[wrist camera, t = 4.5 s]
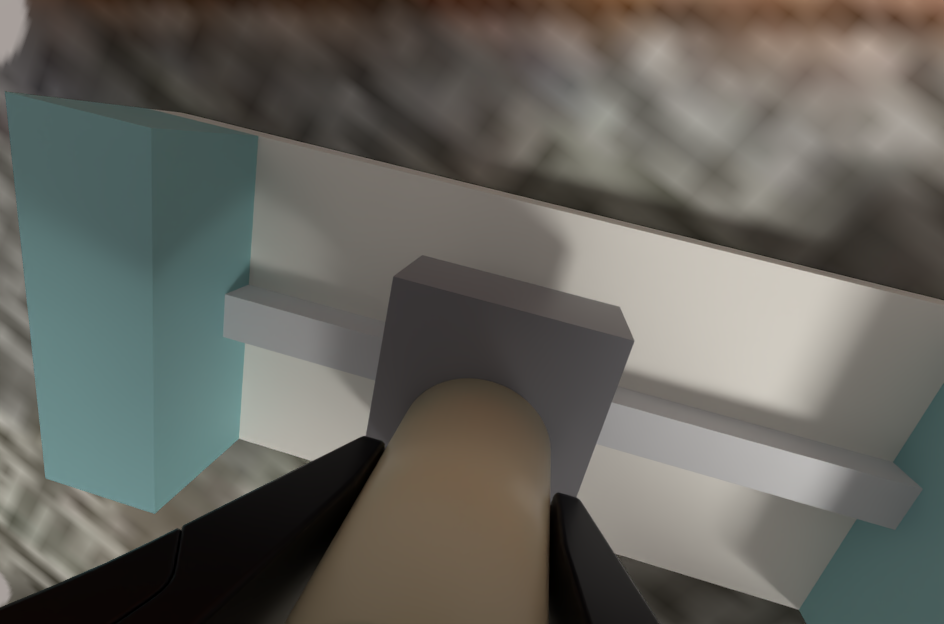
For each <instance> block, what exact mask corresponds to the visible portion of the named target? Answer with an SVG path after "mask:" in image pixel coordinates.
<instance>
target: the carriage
mask: <svg viewBox="0 0 944 624" xmlns="http://www.w3.org/2000/svg"><path fill="white" fill-rule="evenodd" d="M633 344H634V338H633V336H632V334H631V331H630V329H629V327H628V325H627V322H626V320H625V318H624V315H623V313H622V311H621V309H620V307H619V306H615V305H611V304H607V303H604V302H600V301H596V300H592V299H588V298H584V297H581V296H577V295H573V294H569V293H565V292H562V291H558V290H554V289H550V288H546V287H542V286H539V285H535V284H531V283H527V282H523V281H520V280H516V279H512V278H508V277H504V276H500V275H497V274H493V273H489V272H485V271H481V270H478V269H474V268H470V267H466V266H462V265H458V264H455V263H451V262H447V261H443V260H439V259H435V258H432V257H428V256H424V255H422V256H420V257H419V258H417V259H416V260H415V261H413V262H412V263H411V264H409V265H408V266H407V267H405V268H404V269H403V270H401V271H400V272H399V273H397V274H396V275H394V276H393V281H392V286H391V292H390V298H389V304H388V310H387V315H386V321H385V327H384V333H383V339H382V344H381V350H380V356H379V362H378V368H377V373H376V379H375V385H374V391H373V397H372V402H371V408H370V414H369V420H368V426H367V431H366V436H368V437H371V438H375V439H378V440H381V441H383V442H384V443H385V451H384V452H383V454H382V456H381V457H380V459H379V461H378V463H377V464H376V466H375V468H374V469H373V471H372V473H371V475H370V476H369V478H368V480H367V482H366V483H365V485H364V487H363V488H362V490H361V492H360V494H359V495H358V497H357V499H356V500H355V502H354V504H353V506H352V507H351V509H350V511H349V513H348V514H347V516H346V518H345V519H344V521H343V523H342V525H341V526H340V528H339V530H338V532H337V533H336V535H335V537H334V538H333V540H332V542H331V544H330V545H329V547H328V549H327V550H326V552H325V554H324V556H323V557H322V559H321V561H320V563H319V564H318V566H317V568H316V569H315V571H314V573H313V575H312V576H311V578H310V580H309V581H308V583H307V585H306V587H305V588H304V590H303V592H302V594H301V595H300V597H299V599H298V600H297V602H296V604H295V606H294V607H293V609H292V611H291V613H290V614H289V616H288V618H287V619H286V621H285V623H284V624H549V555H550V504H551V501H552V498H553V496H554V495H555V494H556V493H558V492H560V493H563V494H567V495H570V496H574V497H577V494H578V492H579V489H580V486H581V484H582V481H583V478H584V475H585V473H586V470H587V467H588V465H589V462H590V459H591V457H592V454H593V451H594V449H595V446H596V443H597V441H598V438H599V435H600V432H601V430H602V427H603V424H604V422H605V419H606V416H607V414H608V411H609V408H610V406H611V403H612V400H613V398H614V395H615V392H616V389H617V387H618V384H619V381H620V379H621V376H622V373H623V371H624V368H625V365H626V363H627V360H628V357H629V355H630V352H631V349H632V347H633Z"/></svg>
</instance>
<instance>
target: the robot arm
mask: <svg viewBox="0 0 944 624" xmlns="http://www.w3.org/2000/svg"><path fill="white" fill-rule="evenodd" d="M384 451H385V443H384V442H383V441H381V440H378V439H375V438H371V437H368V436H361V437H359V438H357V439H355V440H353V441H351V442H349V443H347V444H345V445H343V446H341V447H339V448H337V449H335V450H333V451H331V452H329V453H327V454H325V455H323V456H321V457H319V458H317V459H315V460H313V461H311V462H309V463H307V464H305V465H303V466H301V467H299V468H297V469H295V470H293V471H291V472H289V473H287V474H285V475H283V476H281V477H279V478H277V479H275V480H273V481H271V482H269V483H267V484H265V485H263V486H261V487H259V488H257V489H255V490H253V491H251V492H249V493H247V494H245V495H243V496H241V497H239V498H237V499H235V500H233V501H231V502H229V503H227V504H225V505H223V506H221V507H219V508H217V509H215V510H213V511H211V512H209V513H207V514H205V515H203V516H201V517H199V518H197V519H195V520H193V521H191V522H189V523H187V524H185V525H184V526H183V527H182V529H181V530H180V529H175V530H173V531H171V532H169V533H167V534H165V535H163V536H161V537H159V538H157V539H155V540H153V541H151V542H149V543H147V544H145V545H142V546H140V547H138V548H136V549H134V550H132V551H130V552H128V553H126V554H123V555H121V556H119V557H117V558H115V559H113V560H111V561H109V562H107V563H104V564H102V565H100V566H97V567H95V568H93V569H90V570H88V571H86V572H84V573H81V574H79V575H77V576H74V577H72V578H70V579H67V580H65V581H63V582H60V583H58V584H56V585H53V586H51V587H49V588H46V589H44V590H41V591H39V592H37V593H34V594H32V595H29V596H27V597H24V598H22V599H20V600H17V601H15V602H12V603H10V604H8V605H5V606H3V607H0V624H284V623H285V621H286V619H287V618H288V616H289V614H290V613H291V611H292V609H293V607H294V606H295V604H296V602H297V600H298V599H299V597H300V595H301V594H302V592H303V590H304V588H305V587H306V585H307V583H308V581H309V580H310V578H311V576H312V575H313V573H314V571H315V569H316V568H317V566H318V564H319V563H320V561H321V559H322V557H323V556H324V554H325V552H326V550H327V549H328V547H329V545H330V544H331V542H332V540H333V538H334V537H335V535H336V533H337V532H338V530H339V528H340V526H341V525H342V523H343V521H344V519H345V518H346V516H347V514H348V513H349V511H350V509H351V507H352V506H353V504H354V502H355V500H356V499H357V497H358V495H359V494H360V492H361V490H362V488H363V487H364V485H365V483H366V482H367V480H368V478H369V476H370V475H371V473H372V471H373V469H374V468H375V466H376V464H377V463H378V461H379V459H380V457H381V456H382V454H383V452H384ZM549 624H660V623H659V621H658V620H657V618H656V617H655V615H654V614H653V612H652V611H651V609H650V607H649V606H648V604H647V603H646V601H645V600H644V598H643V597H642V595H641V593H640V592H639V590H638V589H637V587H636V586H635V584H634V583H633V581H632V579H631V578H630V576H629V575H628V573H627V572H626V570H625V569H624V567H623V565H622V564H621V562H620V561H619V559H618V558H617V556H616V555H615V553H614V551H613V550H612V548H611V547H610V545H609V544H608V542H607V541H606V539H605V537H604V536H603V534H602V533H601V531H600V530H599V528H598V527H597V525H596V523H595V522H594V520H593V519H592V517H591V516H590V514H589V513H588V511H587V509H586V508H585V506H584V505H583V503H582V502H581V500H580V499H578V498H577V497H574V496H570V495H567V494H563V493H560V492H558V493H556V494H555V495H554V496H553V498H552V501H551V504H550V555H549Z"/></svg>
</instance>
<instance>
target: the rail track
mask: <svg viewBox="0 0 944 624" xmlns="http://www.w3.org/2000/svg"><path fill="white" fill-rule="evenodd" d="M5 97H6V107H7V116H8V126H9V135H10V145H11V154H12V164H13V173H14V183H15V192H16V202H17V211H18V221H19V230H20V240H21V249H22V259H23V268H24V278H25V287H26V297H27V306H28V316H29V325H30V335H31V344H32V354H33V363H34V373H35V382H36V392H37V401H38V411H39V420H40V430H41V439H42V449H43V458H44V468H45V477H46V479H49V480H52V481H55V482H59V483H62V484H65V485H68V486H71V487H74V488H77V489H80V490H83V491H86V492H89V493H92V494H95V495H99V496H102V497H105V498H108V499H111V500H114V501H117V502H120V503H123V504H126V505H129V506H132V507H135V508H139V509H142V510H145V511H148V512H151V513H154V514H155V513H156V512H157V511H158V510H159V509H161V508H162V507H163V506H164V505H165V504H166V503H167V502H168V501H170V500H171V499H172V498H173V497H174V496H175V495H176V494H177V493H178V492H180V491H181V490H182V489H183V488H184V487H185V486H186V485H187V484H189V483H190V482H191V481H192V480H193V479H194V478H195V477H196V476H198V475H199V474H200V473H201V472H202V471H203V470H204V469H205V468H207V467H208V466H209V465H210V464H211V463H212V462H213V461H214V460H216V459H217V458H218V457H219V456H220V455H221V454H222V453H223V452H225V451H226V450H227V449H228V448H229V447H230V446H231V445H232V444H233V443H235V442H236V441H237V440H238V439H242V440H245V441H248V442H252V443H255V444H258V445H261V446H265V447H268V448H271V449H274V450H278V451H281V452H284V453H288V454H291V455H294V456H297V457H301V458H304V459H307V460H310V461H313V460H315V459H317V458H319V457H321V456H323V455H325V454H327V453H329V452H331V451H333V450H335V449H337V448H339V447H341V446H343V445H345V444H347V443H349V442H351V441H353V440H355V439H357V438H359V437H361V436H366V431H367V426H368V420H369V414H370V408H371V402H372V397H373V391H374V385H375V379H376V373H377V368H378V362H379V356H380V350H381V344H382V339H383V333H384V327H385V321H386V315H387V310H388V304H389V298H390V292H391V286H392V281H393V276H394V275H396V274H397V273H399V272H400V271H401V270H403V269H404V268H405V267H407V266H408V265H409V264H411V263H412V262H413V261H415V260H416V259H417V258H419V257H420V256H422V255H424V256H428V257H432V258H435V259H439V260H443V261H447V262H451V263H455V264H458V265H462V266H466V267H470V268H474V269H478V270H481V271H485V272H489V273H493V274H497V275H500V276H504V277H508V278H512V279H516V280H520V281H523V282H527V283H531V284H535V285H539V286H542V287H546V288H550V289H554V290H558V291H562V292H565V293H569V294H573V295H577V296H581V297H584V298H588V299H592V300H596V301H600V302H604V303H607V304H611V305H615V306H619V307H620V309H621V311H622V313H623V315H624V318H625V320H626V322H627V325H628V327H629V329H630V331H631V334H632V336H633V338H634V344H633V347H632V349H631V352H630V355H629V357H628V360H627V363H626V365H625V368H624V371H623V373H622V376H621V379H620V381H619V384H618V387H617V389H616V392H615V395H614V398H613V400H612V403H611V406H610V408H609V411H608V414H607V416H606V419H605V422H604V424H603V427H602V430H601V432H600V435H599V438H598V441H597V443H596V446H595V449H594V451H593V454H592V457H591V459H590V462H589V465H588V467H587V470H586V473H585V475H584V478H583V481H582V484H581V486H580V489H579V492H578V494H577V498H578V499H580V500H581V502H582V503H583V505H584V506H585V508H586V509H587V511H588V513H589V514H590V516H591V517H592V519H593V520H594V522H595V523H596V525H597V527H598V528H599V530H600V531H601V533H602V534H603V536H604V537H605V539H606V541H607V542H608V544H609V545H610V547H611V548H612V550H613V551H614V553H615V554H618V555H621V556H625V557H628V558H631V559H634V560H638V561H641V562H644V563H647V564H651V565H654V566H657V567H661V568H664V569H667V570H670V571H674V572H677V573H680V574H683V575H687V576H690V577H693V578H696V579H700V580H703V581H706V582H710V583H713V584H716V585H719V586H723V587H726V588H729V589H732V590H736V591H739V592H742V593H746V594H749V595H752V596H755V597H759V598H762V599H765V600H768V601H772V602H775V603H778V604H782V605H785V606H788V607H791V608H795V609H798V610H799V611H800V613H801V615H802V617H803V618H804V620H805V622H806V624H944V300H940V299H936V298H932V297H928V296H924V295H920V294H916V293H912V292H908V291H904V290H900V289H896V288H892V287H888V286H883V285H879V284H875V283H871V282H867V281H863V280H859V279H855V278H851V277H847V276H843V275H839V274H835V273H831V272H827V271H823V270H819V269H815V268H810V267H806V266H802V265H798V264H794V263H790V262H786V261H782V260H778V259H774V258H770V257H766V256H762V255H758V254H754V253H750V252H746V251H742V250H737V249H733V248H729V247H725V246H721V245H717V244H713V243H709V242H705V241H701V240H697V239H693V238H689V237H685V236H681V235H677V234H673V233H669V232H664V231H660V230H656V229H652V228H648V227H644V226H640V225H636V224H632V223H628V222H624V221H620V220H616V219H612V218H608V217H604V216H600V215H596V214H591V213H587V212H583V211H579V210H575V209H571V208H567V207H563V206H559V205H555V204H551V203H547V202H543V201H539V200H535V199H531V198H527V197H523V196H518V195H514V194H510V193H506V192H502V191H498V190H494V189H490V188H486V187H482V186H478V185H474V184H470V183H466V182H462V181H458V180H454V179H449V178H445V177H441V176H437V175H433V174H429V173H425V172H421V171H417V170H413V169H409V168H405V167H401V166H397V165H393V164H389V163H385V162H381V161H376V160H372V159H368V158H364V157H360V156H356V155H352V154H348V153H344V152H340V151H336V150H332V149H328V148H324V147H320V146H316V145H312V144H308V143H303V142H299V141H295V140H291V139H287V138H283V137H279V136H275V135H271V134H267V133H263V132H259V131H255V130H251V129H247V128H243V127H239V126H235V125H230V124H226V123H222V122H218V121H214V120H210V119H206V118H202V117H198V116H194V115H190V114H186V113H181V112H172V111H164V110H156V109H147V108H139V107H131V106H122V105H114V104H106V103H97V102H89V101H81V100H72V99H64V98H56V97H47V96H39V95H31V94H23V93H14V92H6V91H5Z"/></svg>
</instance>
